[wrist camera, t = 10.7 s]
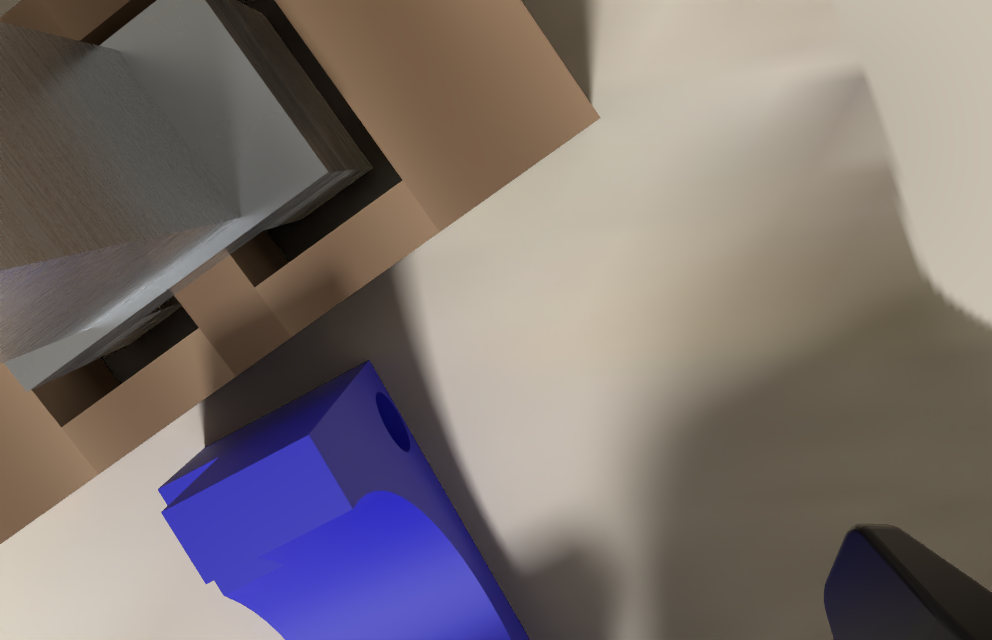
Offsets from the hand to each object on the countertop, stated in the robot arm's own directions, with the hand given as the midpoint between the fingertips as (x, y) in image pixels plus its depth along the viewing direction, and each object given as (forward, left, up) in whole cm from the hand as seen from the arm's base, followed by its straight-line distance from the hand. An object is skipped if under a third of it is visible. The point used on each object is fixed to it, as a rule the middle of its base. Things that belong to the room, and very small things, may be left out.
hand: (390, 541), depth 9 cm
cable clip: (-4, +7, -13) cm, 15 cm away
